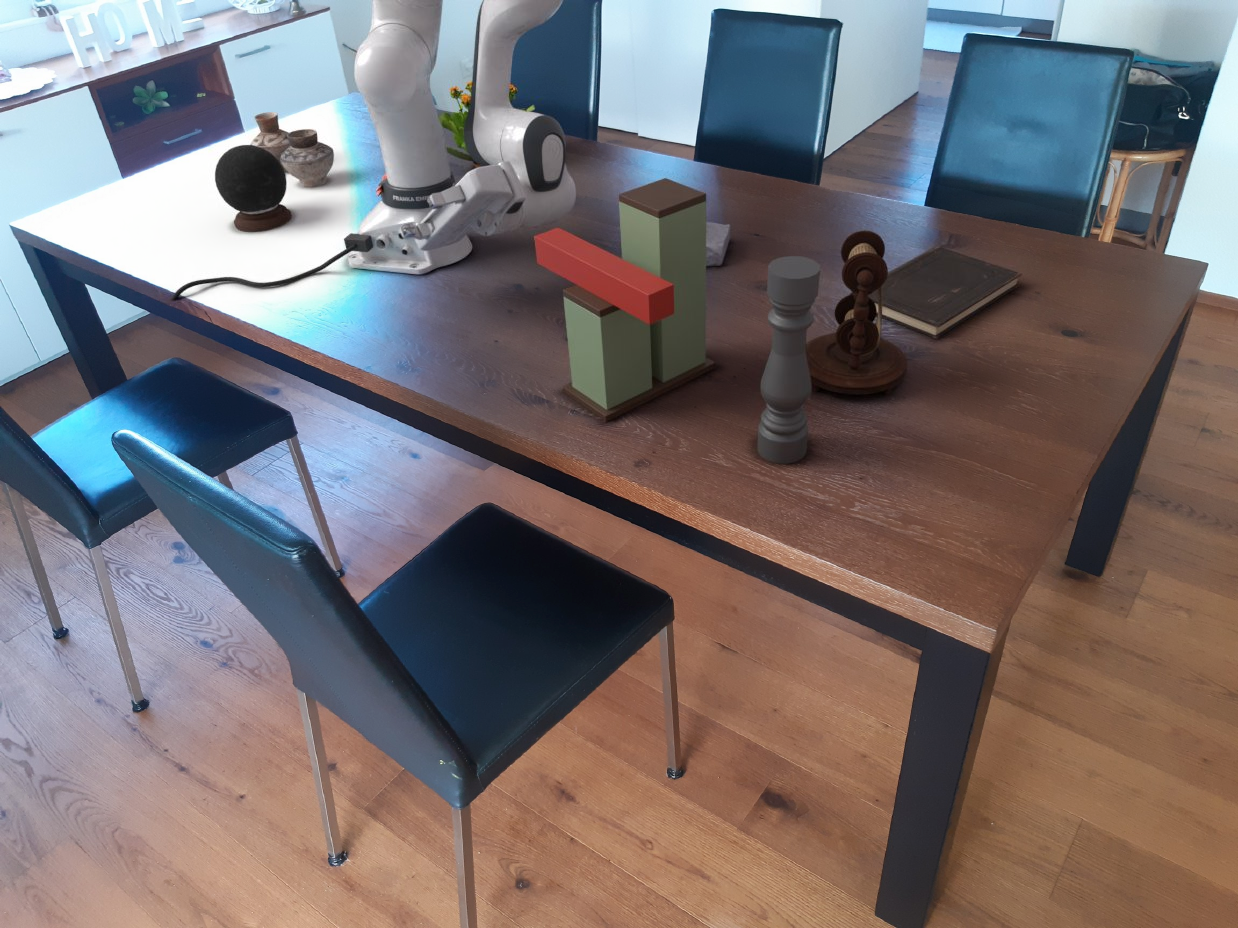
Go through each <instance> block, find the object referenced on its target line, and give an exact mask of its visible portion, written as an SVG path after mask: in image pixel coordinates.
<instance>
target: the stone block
mask: <svg viewBox="0 0 1238 928" xmlns="http://www.w3.org/2000/svg"><path fill="white" fill-rule="evenodd" d="M730 240H731V225H730V224H729V223H728V224H721V223H719V222H711V221H706V267H720V266H722V264H723V263H724V258H725V256H726V252H727V250H728V246H729V243H730Z"/></svg>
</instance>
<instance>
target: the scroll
mask: <svg viewBox="0 0 1238 928" xmlns="http://www.w3.org/2000/svg"><path fill="white" fill-rule="evenodd" d="M885 252H886V245H885V242H884V240H883V239H882V237H881V236H880V235H879V234H878V233H876V232H874V231H871V230H866V229H865V230H858V231H855V232H853V233H851V234H849V235H848V236H847V237H846V238H845V239H844V241H843V243H842V244H841V248H840V257H841V260H842V262H843V263H844V264H843V266H842V269H841V279H842V283H843V284H844V286H845V288H846V289H848V290H849V291H850V293H852V294H851V295H850V294H847V295H846V296H844V297H843V298H841V299H840V300H839V301H838V302H837V304H836V306H835V308H834V318H835V321H836V322H837V324H838V325H839V326H838V327H837V329H836V331H835V332H830V333H827V334H823V335H820V336H817V337H814V338H813V339H811V340H809V341H806V346H805V351H806V357H807V362H808V368H809V373H810V378H811V384H812V389H813V390H814V392H818V391H819V390H820V389H824V390H827V391H830V392H833V393H839V394H846V395H870V394H876V393H881V392H883V393H884V395H887V396H888V395H889V394H890V393H891V392H892V389H893V387H895V386H897V385H898V384H899V383H901V382H902V381H903V380H904V378H905V376H906V374H907V368H908V359H907V357H906V355H905V353H904V352H903V351H902V350H901V349H900V347H899V346H897V345H895V344H894V343H892V342H891V341H888V340H886V339H885V338H882V328H883V327H882V326H883V325H882V324H883V318H882V288H881V286H882V285H883V284H884V282H885V281H886V278H887V275H888V272H889V270H888V269H889V268H888V265H887V262H886V261H885V259H884V256H885ZM875 290H877V291H878V316H877V315H876V314H877V309H876V305H875V303H874V302H873V300H872V299H871V298H869V297H868V296H869V295H871V294H872V293H873V292H874V291H875ZM876 317H877V318H876ZM875 319H876V321H875ZM874 321H875V323H874Z"/></svg>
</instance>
